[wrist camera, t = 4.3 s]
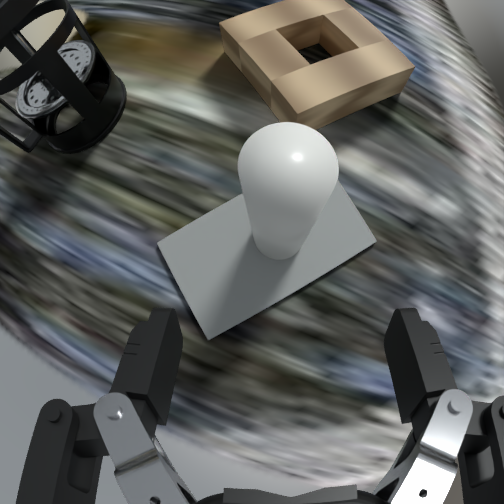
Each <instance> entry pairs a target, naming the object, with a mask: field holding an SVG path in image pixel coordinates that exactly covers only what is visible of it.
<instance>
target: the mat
mask: <svg viewBox="0 0 504 504" xmlns="http://www.w3.org/2000/svg"><path fill="white" fill-rule="evenodd" d="M375 242H376V239H375V238H374V236H373V234H372V233H371V231H370V229H369V228H368V226H367V224H366V223H365V221H364V220H363V218H362V216H361V215H360V213H359V212H358V210H357V208H356V207H355V205H354V204H353V202H352V201H351V199H350V198H349V196H348V194H347V193H346V191H345V190H344V188H343V187H342V185H341V184H340V182H339V181H338V179H337V183H336V185H335V187H334V190H333V191H332V193H331V195H330V197H329V199H328V201H327V202H326V204H325V206H324V208H323V210H322V211H321V213H320V215H319V217H318V219H317V220H316V222H315V224H314V226H313V227H312V229H311V231H310V233H309V235H308V236H307V238H306V240H305V242H304V243H303V245H302V247H301V248H300V250H299V251H298V252H297V253H296V254H295V255H294V256H292V257H290V258H288V259H284V260H274V259H271V258H268V257H266V256H265V255H263V254H262V253H261V252H260V251H259V250H258V248H257V246H256V244H255V241H254V237H253V233H252V229H251V225H250V220H249V216H248V212H247V208H246V203H245V199H244V195H243V193H242V194H240V195H239V196H237V197H235V198H233V199H231V200H230V201H228V202H226V203H224V204H223V205H221V206H219V207H217V208H216V209H214V210H212V211H210V212H209V213H207V214H205V215H203V216H202V217H200V218H198V219H196V220H195V221H193V222H191V223H190V224H188V225H186V226H184V227H183V228H181V229H179V230H178V231H176V232H174V233H173V234H171V235H169V236H168V237H166V238H164V239H163V240H161V241H159V242H158V243H157V244H158V246H159V248H160V250H161V252H162V254H163V256H164V258H165V260H166V262H167V264H168V266H169V268H170V270H171V272H172V274H173V276H174V278H175V280H176V282H177V284H178V285H179V287H180V289H181V291H182V293H183V295H184V297H185V299H186V301H187V303H188V304H189V306H190V308H191V310H192V312H193V314H194V315H195V317H196V319H197V321H198V323H199V325H200V326H201V328H202V330H203V332H204V334H205V335H206V337H207V339H208V340H210V339H211V338H213V337H215V336H217V335H219V334H221V333H223V332H224V331H226V330H228V329H230V328H232V327H233V326H235V325H237V324H239V323H241V322H242V321H244V320H246V319H248V318H250V317H251V316H253V315H255V314H257V313H259V312H260V311H262V310H264V309H266V308H267V307H269V306H271V305H273V304H274V303H276V302H278V301H279V300H281V299H283V298H285V297H286V296H288V295H290V294H292V293H293V292H295V291H297V290H298V289H300V288H302V287H303V286H305V285H307V284H308V283H310V282H312V281H313V280H315V279H317V278H318V277H320V276H322V275H323V274H325V273H327V272H328V271H330V270H332V269H333V268H335V267H337V266H338V265H340V264H341V263H343V262H345V261H346V260H348V259H349V258H351V257H353V256H354V255H356V254H357V253H359V252H361V251H362V250H364V249H365V248H367V247H369V246H370V245H372V244H373V243H375Z"/></svg>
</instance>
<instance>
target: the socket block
mask: <svg viewBox="0 0 504 504" xmlns="http://www.w3.org/2000/svg"><path fill="white" fill-rule="evenodd" d="M219 26H220V31H221V36H222V42H223V47H224V52H225V53H226V54H227V55H228V56H229V58H230V59H231V60H232V61H233V62H234V64H235V65H236V66H237V67H238V68H239V70H240V71H241V72H242V73H243V75H244V76H245V77H246V78H247V80H248V81H249V82H250V83H251V85H252V86H253V87H254V88H255V90H256V91H257V92H258V93H259V95H260V96H261V97H262V99H263V100H264V101H265V102H266V104H267V105H268V106H269V108H270V109H271V110H272V112H273V113H274V114H275V116H276V117H277V118H278V120H279V121H280V122H293V123H299V124H302V125H306V126H308V127H310V128H312V129H314V130H317V129H319V128H321V127H323V126H325V125H328V124H330V123H332V122H334V121H336V120H338V119H341V118H343V117H345V116H347V115H349V114H352V113H354V112H356V111H358V110H360V109H363V108H365V107H367V106H370V105H372V104H374V103H377V102H379V101H381V100H384V99H386V98H388V97H391V96H393V95H396V94H398V93H400V92H401V91H402V89H403V88H404V86H405V84H406V82H407V81H408V79H409V77H410V75H411V73H412V72H413V70H414V68H415V66H414V65H413V64H412V63H411V62H410V61H409V60H408V58H407V57H406V56H405V55H404V54H403V53H402V52H401V51H400V50H399V49H398V48H397V47H396V46H395V45H394V44H393V43H392V42H391V41H390V40H389V39H388V38H386V37H385V36H384V35H383V34H382V33H381V32H380V31H379V30H378V29H377V28H376V27H375V26H374V25H372V24H371V23H370V22H369V21H368V20H367V19H366V18H365V17H363V16H362V15H361V14H360V13H359V12H357V11H356V10H355V9H354V8H353V7H351V6H350V5H349V4H348V3H347V2H345V1H344V0H284V1H281V2H278V3H274V4H271V5H268V6H264V7H261V8H258V9H255V10H252V11H249V12H246V13H243V14H241V15H238V16H235V17H232V18H230V19H227V20H225V21H222V22H219ZM318 43H319V44H320V45H321V46H322V47H323V48H324V49H325V50H326V51H327V52H328V53H329V54H330V55H331V56H332V57H331V58H328V59H325V60H322V61H319V62H317V63H314V64H311V65H310V64H309V63H308V62H307V61H306V60H305V59H304V57H303V56H302V55H301V54H300V53H299V52H298V50H300V49H303V48H306V47H309V46H312V45H315V44H318Z"/></svg>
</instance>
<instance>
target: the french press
mask: <svg viewBox="0 0 504 504" xmlns="http://www.w3.org/2000/svg"><path fill="white" fill-rule="evenodd" d="M38 1H39V0H0V52H1V51H2V49H3V48H4V47H6V48H7V49H8V50H9V51H10V52H11V53H12V54H13V55H14V56H15V57H16V58H17V59H18V60H19V61H20V62H21V63H22V65H21V66H20V67H19V68H18V69H16V70H15V71H14V72H12V73H11V74H10V75H8V76H7V77H5V78H3V79H2V80H0V95H2V94H5V93H7V92H10V91H12V90H13V89H15V88H16V87H18V86H20V87H19V90H18V93H17V97H16V108H17V111H18V112H17V111H16V110H15V109H13V108H12V107H11V106H10V105H9V104H7V103H6V102H5V101H4V100H3V99H2V98H0V103H1V104H2V105H4V106H5V107H6V108H7V109H8V110H10V111H11V112H12V113H13V114H15V115H16V116H17V117H18V118H20V119H21V120H22V121H23V122H25V123H26V124H27V125H28V126H29V127H31V128H32V129H33V130H32V131H31V132H30V134H29V135H28V136H27V137H26V139H25V140H24V141H23V142H22V141H21V140H19V139H18V138H16V137H15V136H14V135H12V134H11V133H10V132H8V131H7V130H5V129H4V128H3V127H1V126H0V134H1V135H2V136H4V137H5V138H7V139H8V140H9V141H11V142H12V143H14V144H15V145H17V146H18V147H20V148H21V149H23V150H24V151H26V152H28V153H30V152H31V151H32V150H33V149H34V147H35V146H36V145H37V143H38V142H39V141H40V140H41V138H42V137H43V138H45V139H46V140H47V141H48V143H49V144H50V146H51V147H52V148H54V149H55V150H56V151H58V152H61V153H67V154H72V153H78V152H81V151H83V150H86V149H88V148H90V147H92V146H93V145H95V144H96V143H98V142H99V141H100V140H102V139H103V138H104V137H105V136H106V135H107V134H108V133H109V132H110V131H111V130H112V129H113V127H114V126H115V125H116V124H117V122H118V120H119V119H120V117H121V115H122V113H123V110H124V108H125V104H126V88H125V85H124V84H123V82H122V80H121V79H120V78H119V77H117V76H116V75H115V74H114V72H113V71H112V69H111V68H110V66H109V65H108V63H107V62H106V60H105V59H104V57H103V55H102V54H101V52H100V51H99V49H98V48H97V46H96V45H95V43H94V41H93V40H92V38H91V37H90V35H89V34H88V32H87V31H86V29H85V27H84V26H83V24H82V23H81V21H80V20H79V18H78V16H77V15H76V13H75V12H74V10H73V9H72V7H71V5H70V4H69V2H68V1H67V0H47V1H44V2H42V3H40V4H38V5H36V4H37V3H38ZM35 5H36V6H35ZM59 9H63V10H64V11H65V16H64V18H63V20H62V22H61V23H60V25H59V26H58V28H57V29H56V31H55V32H54V33H53V34H52V35H51V36H50V38H49V39H48V40H47V41H46V42H45V43H44V45H43V46H42V47H41V48H40V49H39V50H38V51H36V50H35V49H34V48H33V47H32V46H31V44H30V43H29V42H28V41H27V40H26V39H25V37H24V36H23V35H22V34H21V33H20V30H21V29H22V28H24V27H25V26H26V25H28V24H29V23H30V22H32V21H33V20H35V19H37V18H38V17H40V16H42V15H44V14H46V13H48V12H51V11H54V10H59ZM74 26H75V28H76V29H77V31H78V32H79V34H80V35H81V37H82V38H83V40H75V41H70V42H67V43H65V41H66V40H67V38H68V36H69V35H70V33H71V31H72V29H73V27H74ZM98 82H99V83H104V84H107V85H108V87H107V90H106V92H105V94H104V96H103V98H102V99H101V101H100V102H99V103H98V101H97V100H96V99H95V98H94V96H93V95H92V94H91V93H90V92H89V90H88V89H87V88H86V87H85V85H87V84H91V83H98ZM68 103H70V104H71V105H72V106H73V107H74V108H75V109H76V110H77V111H78V112H79V114H80V115H81V116H82V117H83V118H84V120H83V121H81V122H80V123H79V124H77V125H76V126H74V127H73V128H71V129H69V130H67V131H65V132H62V133H59V134H57V131H56V125H55V124H56V118H57V114H58V112H59V110H60V109H61V108H62V107H64V106H65V105H67V104H68ZM24 117H25V118H28V119H32V123H30V122H29V121H28V120H27V119H25V118H24Z"/></svg>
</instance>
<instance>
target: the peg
mask: <svg viewBox="0 0 504 504" xmlns="http://www.w3.org/2000/svg"><path fill="white" fill-rule="evenodd" d="M238 173H239V178H240V182H241V187H242V191H243V195H244V199H245V203H246V208H247V212H248V216H249V220H250V225H251V229H252V233H253V237H254V241H255V244H256V246H257V248H258V250H259V251H260V252H261V253H262V254H263V255H265V256H266V257H268V258H271V259H274V260H284V259H288V258H290V257H292V256H294V255H295V254H296V253H297V252H298V251H299V250H300V248H301V247H302V245H303V243H304V242H305V240H306V238H307V236H308V235H309V233H310V231H311V229H312V227H313V226H314V224H315V222H316V220H317V219H318V217H319V215H320V213H321V211H322V210H323V208H324V206H325V204H326V202H327V201H328V199H329V197H330V195H331V193H332V191H333V190H334V187H335V185H336V183H337V179H338V173H339V166H338V160H337V157H336V154H335V151H334V149H333V148H332V146H331V144H330V143H329V142H328V141H327V139H326V138H325V137H324V136H322V135H321V134H320V133H319V132H317V131H316V130H314V129H312V128H310V127H308V126H306V125H302V124H299V123H293V122H280V123H274V124H271V125H268V126H265V127H263V128H261V129H259V130H258V131H256V132H255V133H254V134H252V135H251V136H250V137H249V138H248V140H247V141H246V142H245V144H244V145H243V147H242V149H241V152H240V154H239V159H238Z"/></svg>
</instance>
